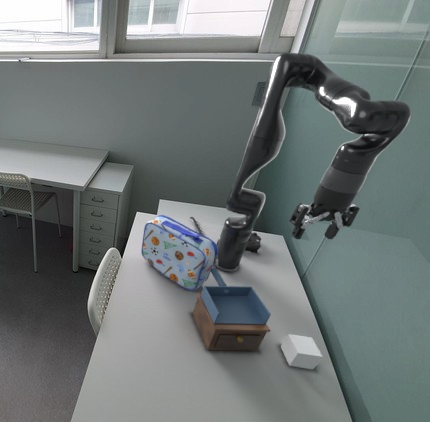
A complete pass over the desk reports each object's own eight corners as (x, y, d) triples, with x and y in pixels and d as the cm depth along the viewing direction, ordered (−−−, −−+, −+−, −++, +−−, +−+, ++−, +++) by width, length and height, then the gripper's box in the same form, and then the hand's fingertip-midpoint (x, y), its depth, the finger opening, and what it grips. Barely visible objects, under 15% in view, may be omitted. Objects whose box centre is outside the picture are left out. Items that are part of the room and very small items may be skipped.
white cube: (280, 346, 91) (288, 334, 87) (303, 350, 90) (311, 337, 86) (289, 365, 86) (297, 352, 82) (313, 369, 85) (323, 356, 81)
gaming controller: (235, 225, 136) (262, 228, 131) (234, 236, 139) (260, 239, 134) (232, 241, 126) (261, 245, 121) (231, 253, 129) (259, 258, 123)
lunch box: (213, 286, 111) (230, 239, 100) (197, 300, 106) (213, 251, 95) (151, 249, 130) (160, 205, 118) (135, 259, 125) (142, 215, 113)
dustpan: (265, 324, 86) (271, 314, 83) (214, 323, 86) (218, 313, 84) (232, 273, 103) (236, 264, 101) (189, 273, 104) (192, 263, 101)
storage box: (190, 313, 102) (197, 292, 96) (236, 314, 101) (246, 292, 96) (208, 354, 89) (217, 332, 84) (260, 354, 89) (272, 333, 83)
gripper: (357, 178, 78) (328, 229, 86) (300, 178, 78) (277, 229, 87) (383, 192, 71) (349, 246, 80) (320, 192, 72) (293, 246, 80)
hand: (311, 237), depth 83 cm, fingers open, 8 cm apart
